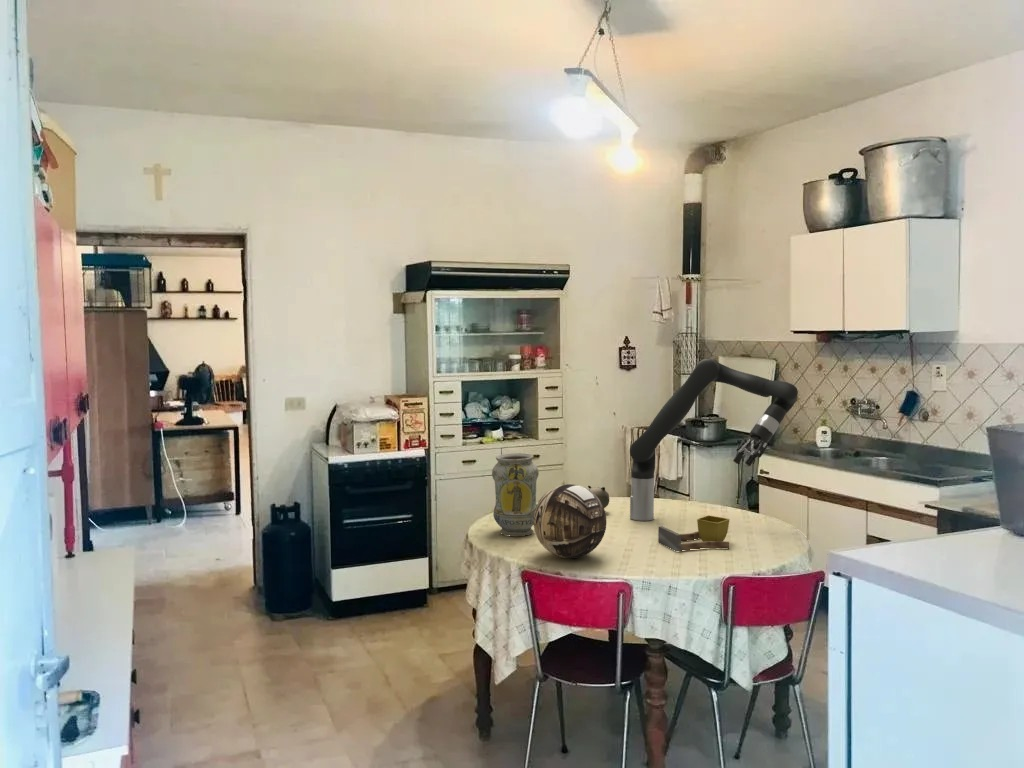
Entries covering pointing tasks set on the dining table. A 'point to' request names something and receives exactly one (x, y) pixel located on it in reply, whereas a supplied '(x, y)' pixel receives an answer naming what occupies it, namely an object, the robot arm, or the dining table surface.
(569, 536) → the sphere
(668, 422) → the robot arm
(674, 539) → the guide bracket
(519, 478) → the vase
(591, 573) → the dining table surface
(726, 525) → the flower pot
